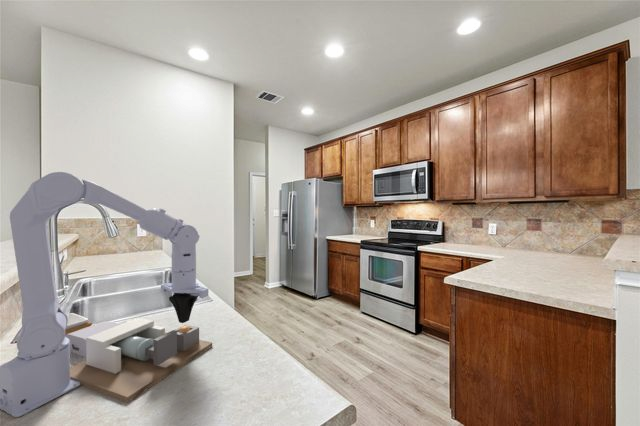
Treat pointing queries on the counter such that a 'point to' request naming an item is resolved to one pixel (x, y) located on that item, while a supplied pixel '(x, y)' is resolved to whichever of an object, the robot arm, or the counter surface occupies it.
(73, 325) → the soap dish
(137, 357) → the grey and blue plunger
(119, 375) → the mounting board
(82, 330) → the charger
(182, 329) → the orange rounded peg
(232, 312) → the counter surface
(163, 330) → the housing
